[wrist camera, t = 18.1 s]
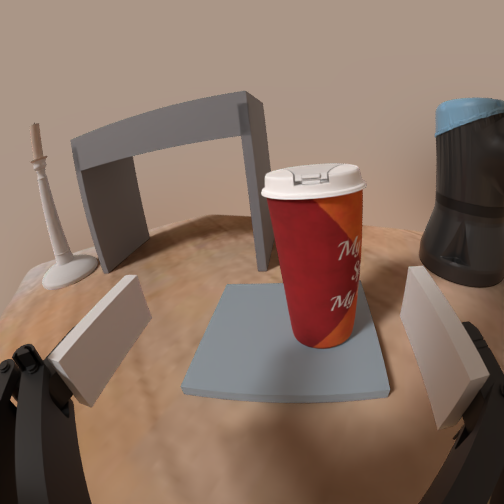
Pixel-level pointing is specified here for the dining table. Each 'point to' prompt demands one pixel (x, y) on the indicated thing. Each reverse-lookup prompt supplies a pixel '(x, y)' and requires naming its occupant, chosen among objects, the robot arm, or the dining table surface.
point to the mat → (282, 354)
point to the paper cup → (318, 247)
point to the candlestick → (57, 230)
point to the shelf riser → (160, 137)
